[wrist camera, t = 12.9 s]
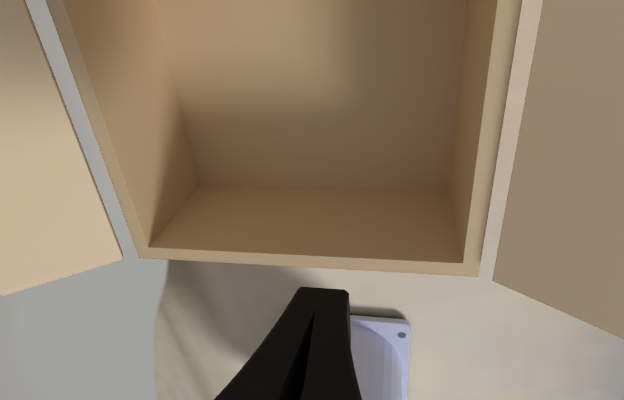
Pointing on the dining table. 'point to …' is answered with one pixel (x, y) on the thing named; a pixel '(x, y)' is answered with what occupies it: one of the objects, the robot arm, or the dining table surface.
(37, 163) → the far flap
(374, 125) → the carton
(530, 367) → the dining table surface
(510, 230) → the near flap
